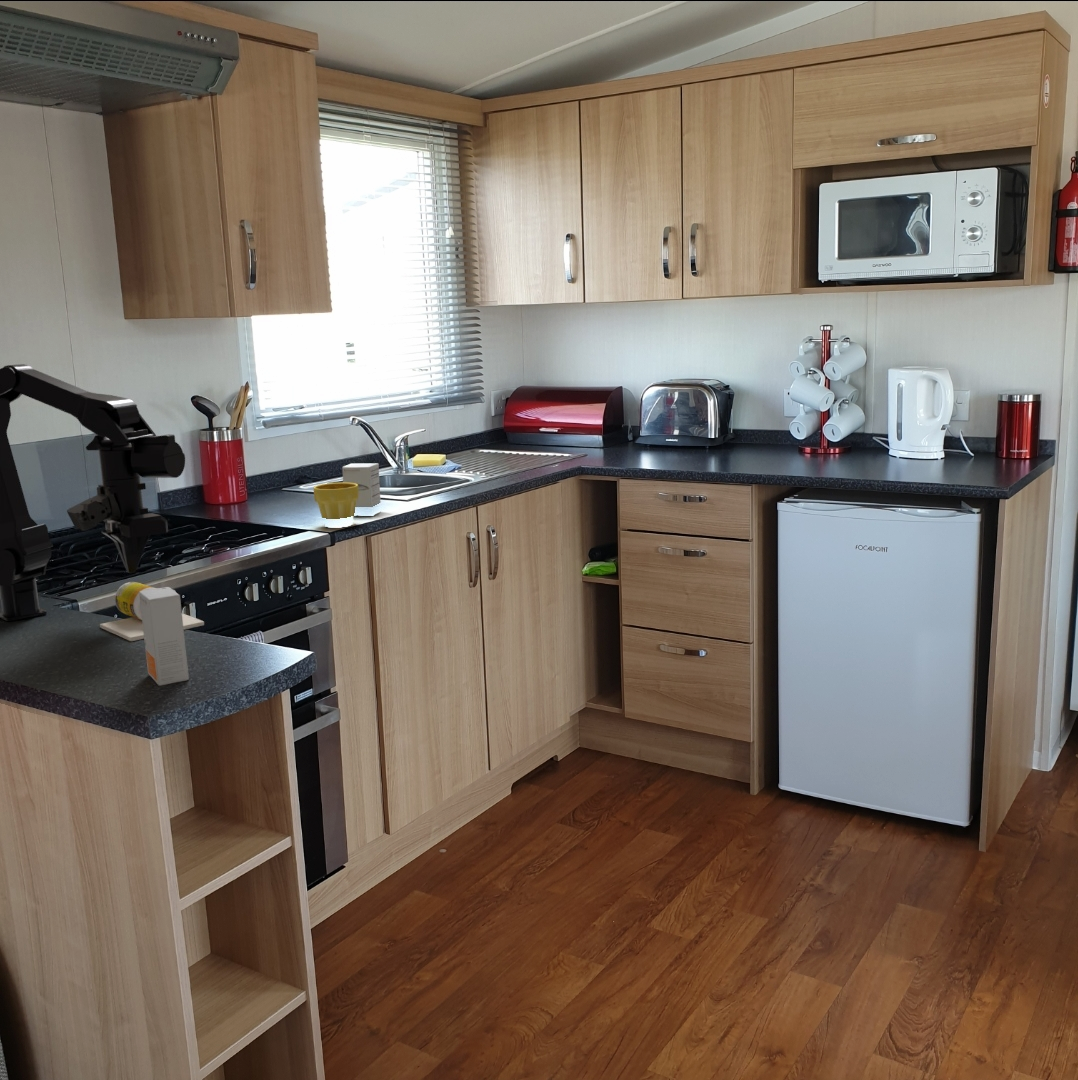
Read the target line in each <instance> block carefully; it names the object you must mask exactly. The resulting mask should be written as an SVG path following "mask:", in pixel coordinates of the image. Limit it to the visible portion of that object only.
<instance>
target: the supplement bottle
mask: <svg viewBox="0 0 1078 1080" xmlns="http://www.w3.org/2000/svg"><path fill="white" fill-rule="evenodd" d="M150 589H157V588H156V587H153V586H150V585H147V584H143V583H140V582H138V581H137V582H136V581H129V582H125V583H124V584H122V585H120V586H119V588H118V589H117V590H116V593H115V595H114V603H115V606H116V608H117V610H118V611H119V612H121V613H123V614H124V615H125V616H130V617H134V618H137V619H140V620H142V614H141V606H140V596H139V591H144V590H150Z"/></svg>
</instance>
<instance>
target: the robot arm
mask: <svg viewBox="0 0 1078 1080" xmlns="http://www.w3.org/2000/svg"><path fill="white" fill-rule="evenodd" d="M21 396H25V397H28V398H31V399H33V400H35V401H38V402H40V403H42V404H44V405H47V406H49V407H51V408H55V409H56V410H59V411H62V412H64V413H66V414H69V415H71V416H73V417H74V418H76V419H77V421H78V422H79V423H80V424H81V426H82V427H83V428H86V429H87V430H89V431H90V432H91V433H93V434H95V435H94V438H93V439H92V440H91V441H90V442H89V443H88V444H87V445H86V446H85V449H86V451H98V455H99V464H100V474H101V481H102V483H101V484H98V485H97V487H96V495H95V496H92V497H90V498H87V499H85V500H83V501H81V502H80V503H77V504H76V505H74V506H71V507H69V508H68V509H66V513H67V515H68V516H69V519H70V521H71V522H72V524H73V527H74V529H76V530H77V529H80V530H81V531H83V532H84V531H85V532H86V531H88V530H90V529H93V528H94V527H97V525H98V524H104V526H105V529H104V530H101V531H100V532H101V534H102V535H105V536H106V537H108V538H110V539H111V541H113V542H114V545H115V547H116V549H117V551H118V553H119V556H120V558H121V560H122V563H123V565H124V569H125V570H126V572H127V573H129V574H132V573H136V572H137V568H138V567H139V564H140V562H141V558H142V556H143V553H144V550H145V548H146V545H147V543H148V542H149V541H148V540H149V539H150V536H152V535H159V534H166V533H168V532H169V525H168V519H167V518H165V517H164V516H163V515H161V514H157V513H152V512H151V513H149V507H145V506H144V504H143V501H144V500H143V495H142V491H144V490H146V489H147V487H146V483H145V482H142V481H141V478H146V479H149V478H150V479H151V478H152V479H155V478H156V479H157V478H158V479H160V478H161V479H162V478H163V479H169V478H170V479H173V478H174V479H176V478H179V477H180V476H181V475H182V474H183V472H184V469H185V467H186V466H185V465H186V455H185V452H184V451H183V448H182V447H181V445H180V443H178V442H177V441H176V437H175V434H161V435H156V433H155V432H154V430H153V429H152V428H151V426H150V425H149V424H148V423H147V421H146V420H145V419H144V417H143V416H142V415H141V414H140V411H139V409H138V405H137V404H136V402H135V401H133V400H132V399H130V398H127V397H122V396H117V395H113V394H102V393H96V392H91V391H88V390H85V389H83V388H80V387H78V386H76V385H73V384H70V383H68V382H66V381H64V380H61V379H59V378H56V377H53V376H51V375H49V374H47V373H44V372H42V371H39V370H37V369H34V367H32V366H30V365H28V364H24V363H23V364H21V363H20V364H8V365H4V366H2V368H0V605H1V611H0V619H2V620H4V621H6V622H12V621H17V620H22V619H26V618H27V619H28V618H33V617H37V616H38V617H39V616H42V615H43V616H44V615H47V614H48V611H47V610H46V609H43V608H42V607H40V604H39V603H40V602H39V595H38V586H37V579H36V577H37V578H38V577H39V576H43V575H46V572H47V565H48V563H49V561H50V559H51V558H52V549H51V548H52V547H54V545H53V543H52V541H51V539H50V537H49V536H50V535H49V529H48V527H47V524H46V523H42V524H38V523H37V522H36V521H35V520H34V519H33V518H32V517H31V515H30V513H29V510H28V509H29V508H28V506H27V502H26V498H25V494H24V491H23V488H22V483H21V481H20V477H19V472H18V469H17V465H16V463H15V459H14V455H13V451H12V447H11V444H10V440H9V437H8V427H9V425H10V424H9V423H10V420H11V416H12V412H11V405H10V404H11V403H12V402H14V401H16V400H18V399H19V398H20V397H21Z"/></svg>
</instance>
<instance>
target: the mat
mask: <svg viewBox="0 0 1078 1080" xmlns="http://www.w3.org/2000/svg"><path fill="white" fill-rule="evenodd" d="M182 619H183V629H184V630H189V629H192V628H197V627H200V626H202V627H203V626H205V621H203V620H201V619H199V618H196V617H193V616H190V615H187V614H185V613H183V612H182ZM99 627H100V628H101V629H103V630H105V631H107V632H109V633H112V634H114V635H116V636H119V637H120V638H123V639H125V640H127V641H129V642H134V641H138V640H139V641H140V640H143V639H144V632H143V623H142V620H140V619H137V618H134V617H132V616H130V617H126V618H123V619H122V618H121V619H119V620H112V621H109V622H108V621H107V622H104V623H100V624H99Z"/></svg>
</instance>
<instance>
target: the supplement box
mask: <svg viewBox="0 0 1078 1080" xmlns="http://www.w3.org/2000/svg"><path fill="white" fill-rule="evenodd" d="M379 467H380V464H379V463H375V462H373V463H363V462H362V463H349V464H347V465H343V466H342V470H341V471H342V482H346V483H356V484H358V489H359V498H358V499H357V500H356V506H355V507H373V506H375V505H377V504H379V503H381V485H380V468H379Z"/></svg>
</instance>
